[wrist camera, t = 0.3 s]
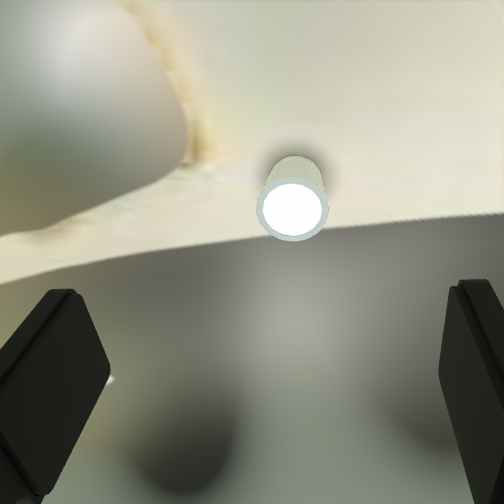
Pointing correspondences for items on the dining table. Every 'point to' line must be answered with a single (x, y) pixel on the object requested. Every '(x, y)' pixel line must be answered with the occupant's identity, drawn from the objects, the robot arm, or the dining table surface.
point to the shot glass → (293, 200)
